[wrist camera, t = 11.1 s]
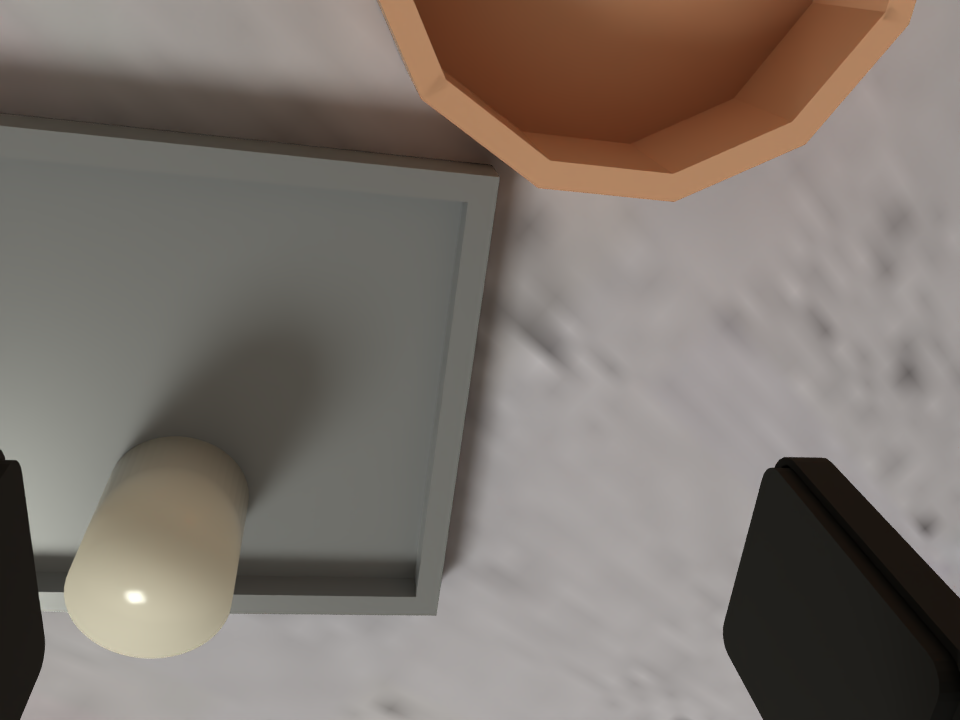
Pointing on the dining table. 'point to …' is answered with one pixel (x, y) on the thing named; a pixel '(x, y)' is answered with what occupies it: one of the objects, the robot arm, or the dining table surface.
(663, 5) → the bowl
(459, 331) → the parts tray
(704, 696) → the dining table surface
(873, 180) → the dining table surface
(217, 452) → the pebble
